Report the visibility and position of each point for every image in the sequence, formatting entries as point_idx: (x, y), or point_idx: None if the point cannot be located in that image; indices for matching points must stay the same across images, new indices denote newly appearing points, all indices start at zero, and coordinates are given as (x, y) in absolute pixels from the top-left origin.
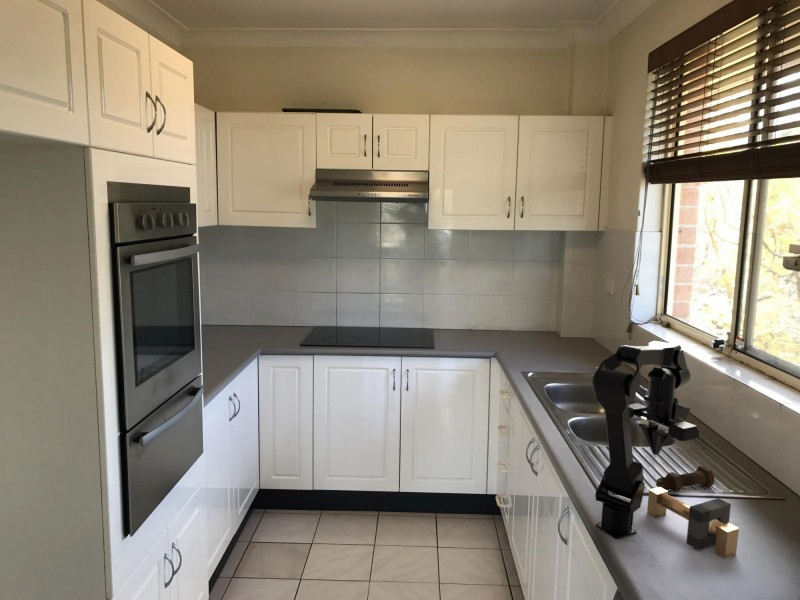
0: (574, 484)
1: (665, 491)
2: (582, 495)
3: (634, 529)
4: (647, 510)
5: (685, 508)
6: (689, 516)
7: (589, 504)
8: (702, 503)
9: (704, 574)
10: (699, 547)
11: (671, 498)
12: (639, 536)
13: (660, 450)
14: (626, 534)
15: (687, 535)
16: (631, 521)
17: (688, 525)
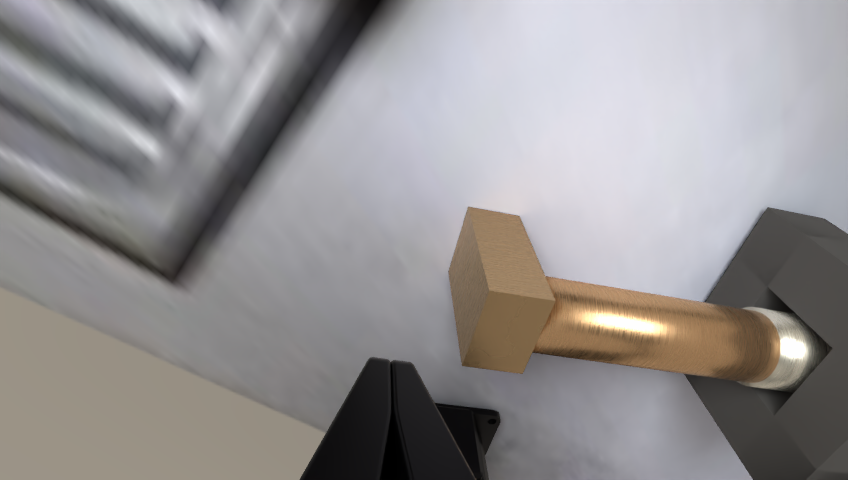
0: (36, 299)
1: (544, 315)
2: (160, 350)
3: (489, 418)
4: (451, 282)
5: (694, 373)
6: (742, 459)
7: (244, 382)
8: (838, 451)
9: None
10: None
11: (604, 356)
12: (515, 416)
13: (433, 403)
14: (485, 453)
15: (690, 381)
16: (478, 443)
17: (716, 420)
